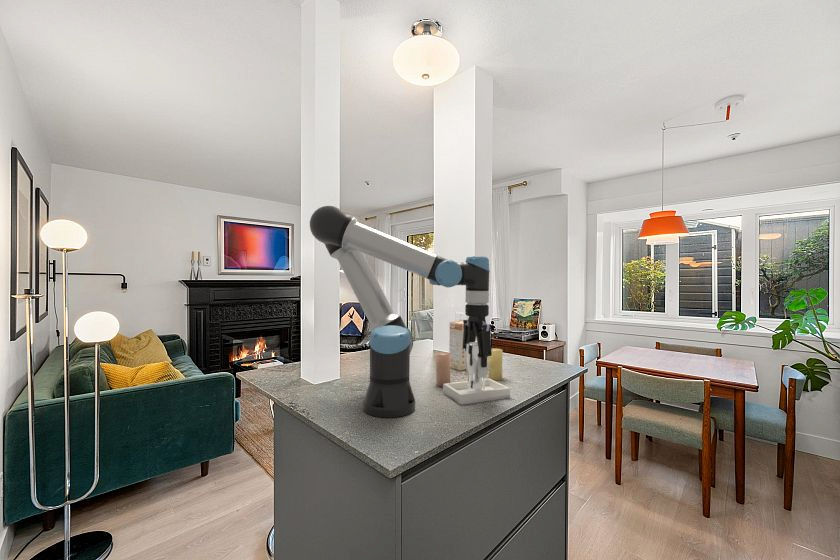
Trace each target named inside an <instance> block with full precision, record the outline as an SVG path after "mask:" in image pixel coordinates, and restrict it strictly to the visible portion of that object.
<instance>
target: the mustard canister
mask: <svg viewBox="0 0 840 560" xmlns="http://www.w3.org/2000/svg"><path fill="white" fill-rule="evenodd" d="M491 350H492V355H491V356H488V378H490V379H492V380H494V381H503V352H504V351H503V349H502V348H494V347H493V348H492V347H491Z"/></svg>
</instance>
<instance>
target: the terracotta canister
mask: <svg viewBox="0 0 840 560" xmlns="http://www.w3.org/2000/svg"><path fill="white" fill-rule="evenodd" d="M435 361H436V363H435V371H436V373H435V379H436V381H435V382H436V386H437V387H441V388H443V384H446V383H451V368H450V353H449V352H446V351H445V352H436V354H435Z"/></svg>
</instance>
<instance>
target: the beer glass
mask: <svg viewBox="0 0 840 560" xmlns="http://www.w3.org/2000/svg"><path fill="white" fill-rule="evenodd" d="M479 355H480V354H479V347H478V342H468V343H467V347H466V365H467V371H466V372H467V381H468V383H467V390H469V391H472V392H477V391H485V382H484V379H485V377H481V378H479V377H478V356H479Z"/></svg>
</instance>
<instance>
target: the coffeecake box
mask: <svg viewBox="0 0 840 560" xmlns="http://www.w3.org/2000/svg"><path fill="white" fill-rule="evenodd" d="M463 320H464V319H463ZM463 320H455V321H449V341H448V342H449V352H448V353H450V369H453V370H457V371H464V370H466V351H465V348H463V332H464V323H463ZM475 342H478V341H477V336H476V339H475Z"/></svg>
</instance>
